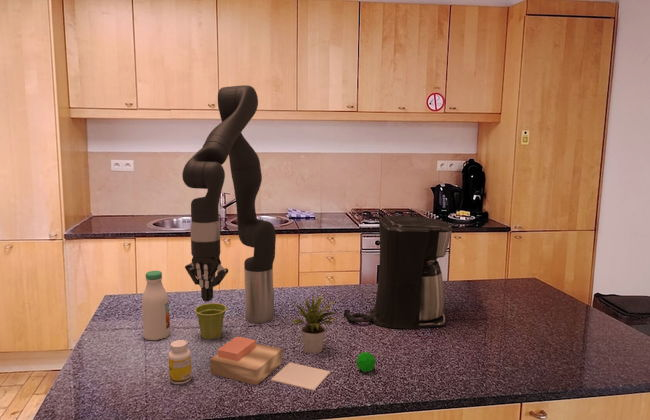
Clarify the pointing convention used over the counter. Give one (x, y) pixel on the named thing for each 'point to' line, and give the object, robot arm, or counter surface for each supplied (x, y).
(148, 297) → the milk bottle
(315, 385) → the mat
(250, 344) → the salmon orange flat block
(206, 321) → the plant pot
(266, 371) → the wooden block
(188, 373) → the supplement bottle
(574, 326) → the counter surface
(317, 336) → the house plant
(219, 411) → the counter surface
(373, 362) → the polyhedron
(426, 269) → the coffee maker
